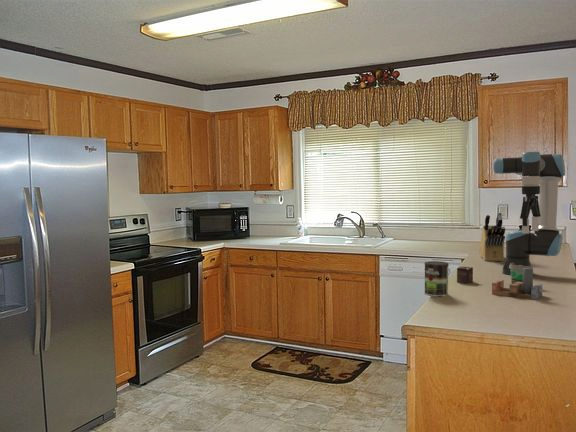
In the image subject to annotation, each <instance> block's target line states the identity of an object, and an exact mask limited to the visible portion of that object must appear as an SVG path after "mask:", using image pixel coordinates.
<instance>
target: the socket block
mask: <svg viewBox="0 0 576 432" xmlns="http://www.w3.org/2000/svg"><path fill="white" fill-rule="evenodd" d="M504 283H505V280H504V279H498V280H496V281H493V282H492V283H491V294H492V295H494V296H495V295H497V296H504V297H512V298H519V299H527V300H528V299H529V300H537V299H539V298H540V297H542V296H543V283H537V284H535V285H533V287H531V295H530V294H523V282H515V283H513V284H512V283H511V284H509V287H505V285H504Z"/></svg>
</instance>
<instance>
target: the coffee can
mask: <svg viewBox="0 0 576 432" xmlns="http://www.w3.org/2000/svg"><path fill="white" fill-rule="evenodd" d="M449 265H450V264H449V262H446V261H439V260H438V261H435V260H434V261H433V260H432V261H425V262H424V295H425V296H429V297H436V296H442V297H448V296H449Z"/></svg>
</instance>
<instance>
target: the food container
mask: <svg viewBox="0 0 576 432" xmlns="http://www.w3.org/2000/svg"><path fill="white" fill-rule="evenodd" d="M509 268H510V270H511V275H510V280H511V282H510V283H511V284H513V283H515V282H523V268H532V269H533V265H531V266H523V265H514V263H510V265H509ZM533 270H534V269H533Z"/></svg>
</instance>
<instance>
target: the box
mask: <svg viewBox="0 0 576 432" xmlns="http://www.w3.org/2000/svg"><path fill="white" fill-rule="evenodd" d="M456 269H457V270H456V283H460V284H468V285H469V284H471V283H473V281H474V272H473V271H474V267H472V266H459V267H457V268H456Z"/></svg>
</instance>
